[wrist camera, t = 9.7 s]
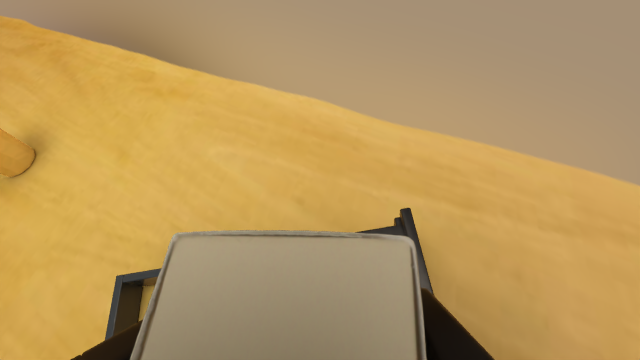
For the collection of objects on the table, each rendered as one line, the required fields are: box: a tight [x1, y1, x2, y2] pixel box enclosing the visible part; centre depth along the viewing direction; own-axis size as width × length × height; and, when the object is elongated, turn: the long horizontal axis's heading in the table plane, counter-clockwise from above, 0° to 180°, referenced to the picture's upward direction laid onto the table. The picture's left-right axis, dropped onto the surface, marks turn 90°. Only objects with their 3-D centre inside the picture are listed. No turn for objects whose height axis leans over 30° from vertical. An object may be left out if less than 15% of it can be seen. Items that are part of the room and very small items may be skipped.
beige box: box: [130, 230, 427, 360], centre depth 9 cm, size 5×4×10 cm
